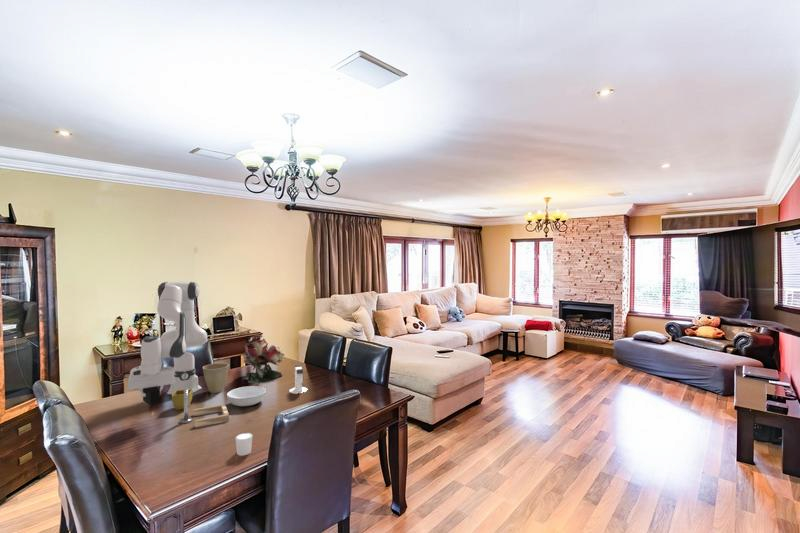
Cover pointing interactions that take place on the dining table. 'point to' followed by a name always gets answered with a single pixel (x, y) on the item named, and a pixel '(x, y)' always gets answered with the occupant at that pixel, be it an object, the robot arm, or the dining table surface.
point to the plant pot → (215, 376)
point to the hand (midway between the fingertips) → (151, 395)
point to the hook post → (186, 410)
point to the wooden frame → (211, 419)
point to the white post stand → (298, 381)
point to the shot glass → (243, 443)
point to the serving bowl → (246, 395)
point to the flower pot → (181, 398)
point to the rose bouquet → (261, 359)
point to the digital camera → (152, 395)
